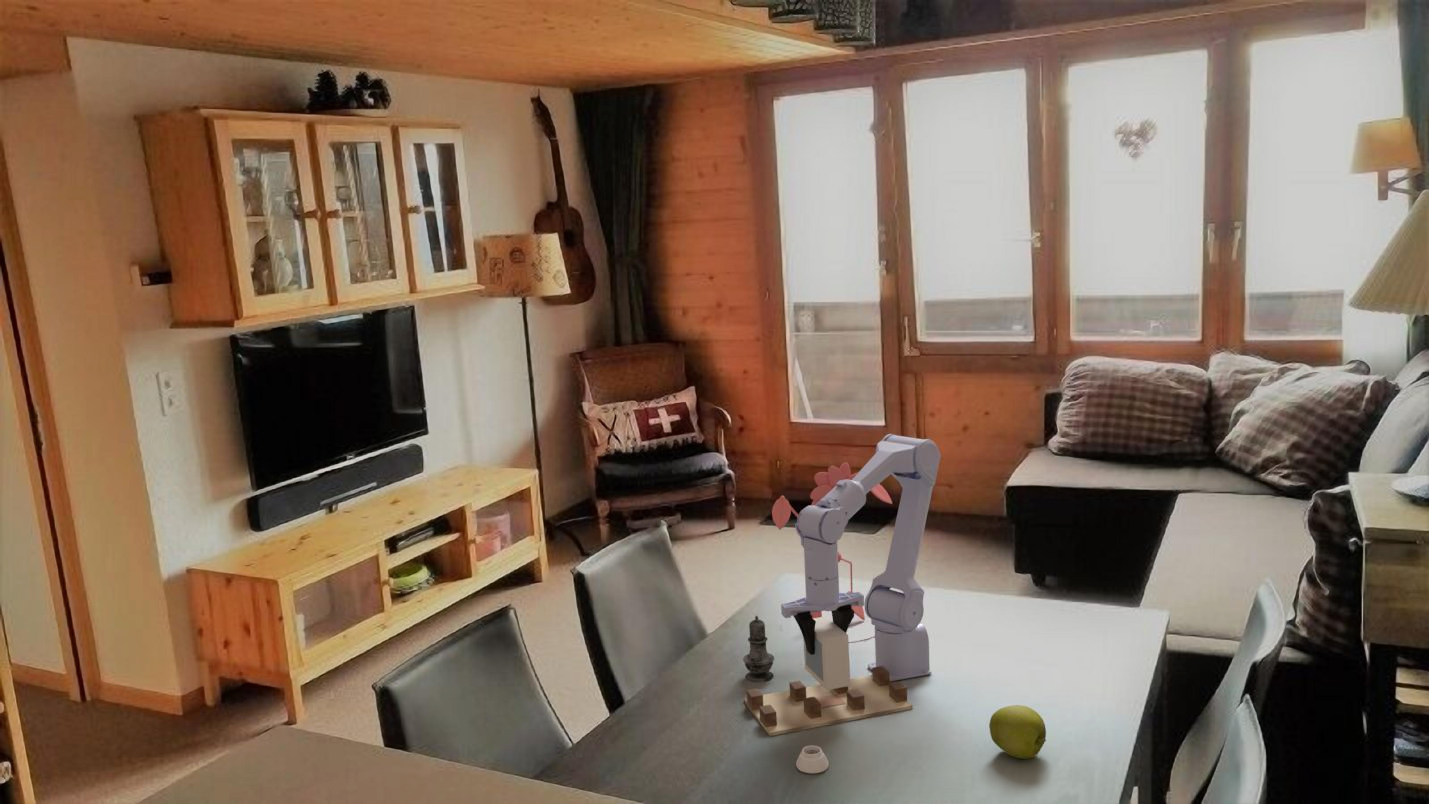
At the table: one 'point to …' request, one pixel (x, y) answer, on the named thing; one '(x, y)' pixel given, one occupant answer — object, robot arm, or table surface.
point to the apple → (1018, 731)
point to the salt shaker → (758, 654)
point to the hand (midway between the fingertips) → (824, 650)
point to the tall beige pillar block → (829, 655)
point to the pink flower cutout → (825, 485)
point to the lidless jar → (812, 760)
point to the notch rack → (827, 703)
